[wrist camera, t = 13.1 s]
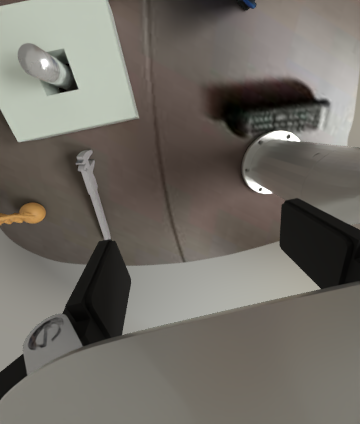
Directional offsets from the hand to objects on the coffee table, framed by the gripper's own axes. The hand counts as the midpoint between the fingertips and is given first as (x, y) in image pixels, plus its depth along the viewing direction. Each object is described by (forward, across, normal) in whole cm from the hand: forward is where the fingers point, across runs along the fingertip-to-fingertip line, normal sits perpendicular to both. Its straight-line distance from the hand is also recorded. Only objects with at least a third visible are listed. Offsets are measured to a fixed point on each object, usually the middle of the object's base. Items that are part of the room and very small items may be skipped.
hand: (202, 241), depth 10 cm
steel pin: (+28, +13, -15) cm, 34 cm away
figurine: (+28, +28, +3) cm, 40 cm away
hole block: (+28, +13, -15) cm, 35 cm away
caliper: (+29, +16, +5) cm, 33 cm away
